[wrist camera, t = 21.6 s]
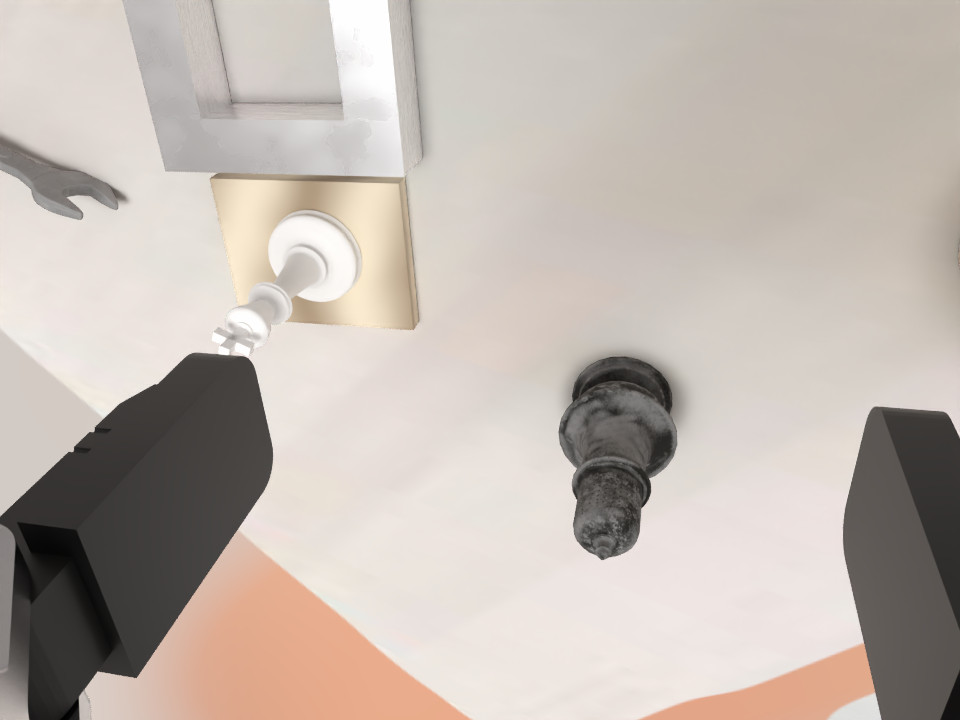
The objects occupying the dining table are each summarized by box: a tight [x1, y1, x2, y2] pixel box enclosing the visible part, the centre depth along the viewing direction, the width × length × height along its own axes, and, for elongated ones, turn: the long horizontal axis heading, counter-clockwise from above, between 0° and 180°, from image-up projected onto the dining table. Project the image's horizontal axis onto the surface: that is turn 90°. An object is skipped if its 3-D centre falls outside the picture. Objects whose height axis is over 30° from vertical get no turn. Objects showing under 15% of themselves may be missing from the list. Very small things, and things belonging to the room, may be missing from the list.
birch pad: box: [210, 173, 419, 330], centre depth 42 cm, size 10×8×1 cm
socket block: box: [123, 0, 423, 177], centre depth 36 cm, size 12×12×3 cm
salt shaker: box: [559, 357, 677, 560], centre depth 38 cm, size 6×6×12 cm
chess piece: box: [212, 210, 362, 356], centre depth 37 cm, size 5×5×10 cm
